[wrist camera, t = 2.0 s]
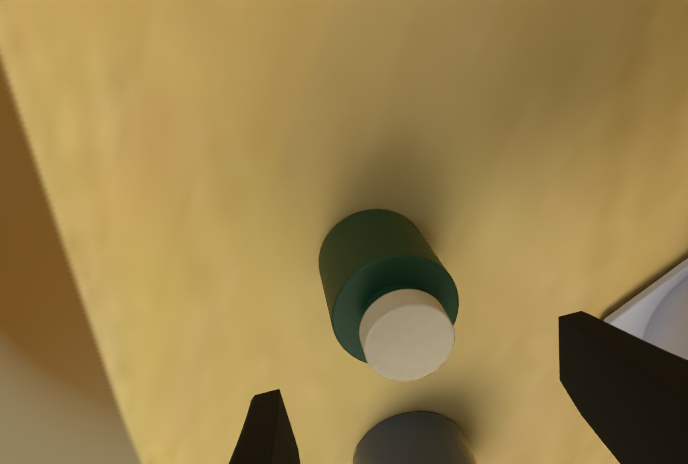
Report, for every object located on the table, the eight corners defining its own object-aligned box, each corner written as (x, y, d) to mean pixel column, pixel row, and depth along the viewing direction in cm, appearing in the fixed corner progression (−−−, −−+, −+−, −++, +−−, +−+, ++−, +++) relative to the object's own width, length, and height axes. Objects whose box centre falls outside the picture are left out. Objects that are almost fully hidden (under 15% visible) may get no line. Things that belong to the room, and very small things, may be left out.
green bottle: (444, 259, 20) (505, 343, 15) (364, 323, 21) (397, 423, 16) (380, 186, 18) (425, 253, 14) (295, 258, 19) (309, 346, 14)
